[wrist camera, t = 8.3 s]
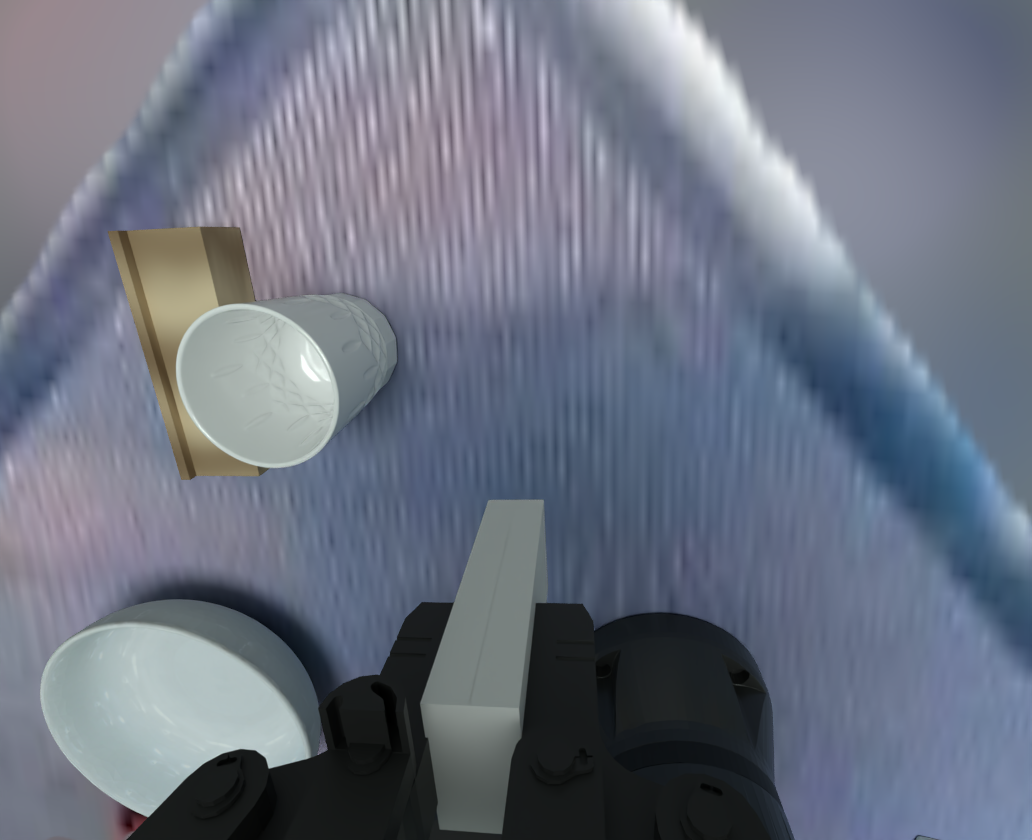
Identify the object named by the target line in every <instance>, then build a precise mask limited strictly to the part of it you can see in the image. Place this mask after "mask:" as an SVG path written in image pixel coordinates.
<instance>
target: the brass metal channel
mask: <svg viewBox="0 0 1032 840" xmlns="http://www.w3.org/2000/svg"><path fill="white" fill-rule="evenodd" d="M108 234H109V238H110V241H111V244H112V248H113V251H114V254H115V258H116V261H117V264H118V268H119V271H120V275H121V278H122V281H123V285H124V288H125V291H126V295H127V298H128V301H129V305H130V308H131V312H132V315H133V318H134V322H135V325H136V328H137V332H138V335H139V338H140V342H141V345H142V349H143V352H144V355H145V359H146V362H147V365H148V369H149V372H150V375H151V379H152V382H153V385H154V389H155V392H156V396H157V399H158V402H159V406H160V409H161V412H162V416H163V419H164V422H165V426H166V429H167V433H168V436H169V439H170V443H171V446H172V449H173V453H174V456H175V459H176V463H177V466H178V470H179V473H180V476H181V480H191V479H192V478H194V477H195V476H260V475H262V474H263V473H264V472H265V471H267V470H268V469H269V468H266V467H259V466H255V465H251V464H248V463H245V462H242V461H240V460H238V459H236V458H234V457H232V456H230V455H228V454H227V453H225V452H223V451H222V450H221V449H219V448H218V447H216V446H215V445H214V444H213V443H212V442H211V441H209V440H208V439H207V438H206V437H205V436H204V435H203V433H202V432H201V431H200V430H199V429H198V427H197V426H196V425H195V423H194V422H193V421H192V419H191V417H190V416H189V414H188V412H187V410H186V408H185V406H184V404H183V402H182V399H181V396H180V393H179V389H178V385H177V379H176V358H177V352H178V348H179V345H180V342H181V340H182V338H183V336H184V334H185V332H186V331H187V329H188V328H189V327H190V326H191V324H192V323H193V322H194V321H195V320H196V319H197V318H199V317H200V316H201V315H203V314H204V313H206V312H208V311H210V310H212V309H214V308H217V307H220V306H223V305H228V304H236V303H245V302H253V301H255V298H254V293H253V288H252V284H251V279H250V274H249V270H248V265H247V260H246V256H245V251H244V246H243V242H242V237H241V232H240V228H236V227H187V228H169V229H151V230H133V231H108Z"/></svg>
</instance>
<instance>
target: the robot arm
mask: <svg viewBox="0 0 1032 840" xmlns="http://www.w3.org/2000/svg"><path fill="white" fill-rule="evenodd" d="M547 590H548V579H547V558H546V538H545V517H544V500H488V503H487V506H486V509H485V512H484V515H483V518H482V521H481V524H480V527H479V530H478V533H477V536H476V539H475V542H474V545H473V548H472V551H471V554H470V557H469V560H468V563H467V566H466V569H465V572H464V575H463V578H462V581H461V584H460V587H459V590H458V593H457V596H456V599H455V602H454V603H432V602H422V603H421V604H420V605H419V606H418V607H417V608H416V609H415V610H414V611H412V612H411V613H410V614H409V615H408V616H407V617H406V618H405V621H404V623H403V625H402V627H401V629H400V632H399V634H398V636H397V641H395V643H394V645H393V647H392V649H391V652H390V657H388V658H387V660H386V663H385V665H384V667H383V669H382V671H381V674H380V675H370V676H362V677H358V678H356V679H353V680H351V681H348V682H346V683H343V684H342V685H341V686H339V687H338V688H337V689H335V690H334V691H333V692H331V693H330V694H329V695H328V696H327V697H326V699H325V700H324V701H323V702H322V704H321V705H320V706H319V708H318V710H319V714H320V719H321V723H322V727H323V731H324V735H325V740H326V744H327V748H328V750H327V751H325V752H324V753H322V754H319V755H317V756H314V757H311V758H308V759H304V760H301V761H297V762H293V763H289V764H285V765H281V766H277V767H273V768H268V764H267V761H266V758H265V757H264V756H263V755H261V754H260V753H258V752H257V751H256V750H247V749H238V750H234V751H230V752H226V753H222V754H221V755H219V756H217V757H215V758H213V759H211V760H209V761H207V762H206V763H204V764H203V765H201V766H200V767H199V768H198V769H197V770H195V771H194V772H193V773H192V774H191V775H189V776H188V777H187V778H186V779H185V780H184V781H183V782H182V783H181V784H180V785H179V786H178V787H177V788H176V789H175V790H174V791H173V792H172V793H171V794H170V795H169V796H168V798H167V799H166V800H165V801H164V802H163V803H162V804H161V805H160V806H159V807H158V808H157V809H156V810H155V811H154V812H153V813H152V814H151V815H150V816H149V817H148V818H147V819H146V820H145V821H144V822H143V823H142V824H141V825H140V826H139V827H138V828H137V829H136V831H135V832H134V833H133V834H132V835H131V836H130V837H129V838H128V839H127V840H795V839H794V837H793V834H792V831H791V828H790V826H789V823H788V820H787V817H786V815H785V813H784V810H783V807H782V804H781V802H780V799H779V796H778V793H777V790H776V787H775V783H774V746H773V712H772V705H771V700H770V696H769V693H768V690H767V688H766V685H765V683H764V680H763V678H762V676H761V673H760V671H759V668H758V666H757V664H756V662H755V660H754V659H753V657H752V656H751V654H750V653H749V652H748V650H747V649H746V648H745V647H744V646H743V645H742V644H741V643H740V642H739V641H738V640H736V639H735V638H734V637H733V636H731V635H730V634H728V633H727V632H725V631H724V630H722V629H720V628H718V627H716V626H714V625H712V624H709V623H707V622H704V621H701V620H698V619H695V618H691V617H686V616H681V615H673V614H647V615H639V616H633V617H629V618H625V619H622V620H618V621H616V622H613V623H611V624H608V625H606V626H604V627H602V628H601V629H599V630H597V631H596V632H594V626H593V620H592V618H591V617H590V615H589V613H588V612H587V610H586V609H585V607H584V606H583V604H560V603H547Z"/></svg>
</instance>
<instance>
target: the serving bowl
mask: <svg viewBox="0 0 1032 840" xmlns="http://www.w3.org/2000/svg"><path fill="white" fill-rule="evenodd" d="M40 698H41V705H42V710H43V714H44V717H45V720H46V723H47V725H48V728H49V730H50V732H51V734H52V736H53V738H54V740H55V741H56V743H57V744H58V746H59V748H60V749H61V751H62V752H63V753H64V754H65V756H66V757H67V758H68V760H69V761H70V762H71V763H72V764H73V765H74V766H75V767H76V768H77V769H78V770H79V771H80V772H81V773H82V774H83V775H84V776H85V777H86V778H87V779H88V780H89V781H90V782H92V783H93V784H94V785H95V786H96V787H98V788H99V789H100V790H102V791H103V792H104V793H106V794H107V795H109V796H110V797H112V798H113V799H115V800H116V801H118V802H119V803H121V804H123V805H125V806H126V807H128V808H130V809H132V810H134V811H136V812H138V813H140V814H142V815H145V816H147V817H149V816H150V815H151V814H152V813H153V812H154V811H155V810H156V809H157V808H158V807H159V806H160V805H161V804H162V803H163V802H164V801H165V800H166V799H167V798H168V796H169V795H170V794H171V793H172V792H173V791H174V790H175V789H176V788H177V787H178V786H179V785H180V784H181V783H182V782H183V781H184V780H185V779H186V778H187V777H188V776H189V775H191V774H192V773H193V772H194V771H195V770H197V769H198V768H199V767H200V766H201V765H203V764H204V763H206V762H207V761H209V760H211V759H213V758H215V757H217V756H219V755H221V754H222V753H226V752H230V751H234V750H238V749H247V750H256V751H257V752H258V753H260V754H261V755H263V756H264V757H265V758H266V761H267V764H268V768H273V767H277V766H281V765H285V764H289V763H293V762H297V761H301V760H304V759H308V758H311V757H314V756H317V753H318V748H319V742H320V733H321V719H320V714H319V710H318V708H319V704H318V699H317V696H316V692H315V690H314V687H313V684H312V682H311V680H310V677H309V675H308V673H307V671H306V670H305V668H304V666H303V665H302V663H301V662H300V660H299V659H298V658H297V656H296V655H295V654H294V652H293V651H292V650H291V649H290V648H289V646H288V645H287V644H286V643H284V642H283V641H282V640H281V639H280V638H279V637H278V636H277V635H276V634H274V633H273V632H272V631H271V630H269V629H268V628H267V627H265V626H264V625H262V624H261V623H259V622H258V621H256V620H254V619H252V618H250V617H249V616H247V615H245V614H243V613H240V612H238V611H236V610H233V609H230V608H227V607H224V606H221V605H217V604H213V603H209V602H203V601H197V600H184V599H170V600H159V601H152V602H146V603H142V604H138V605H134V606H131V607H127V608H125V609H122V610H119V611H117V612H114V613H112V614H110V615H108V616H106V617H104V618H102V619H100V620H98V621H96V622H94V623H92V624H91V625H89V626H88V627H86V628H84V629H83V630H81V631H80V632H78V633H76V634H75V635H73V636H72V637H70V638H69V639H68V640H66V641H65V642H64V643H63V644H62V645H61V646H59V648H58V649H57V650H56V651H55V652H54V653H53V655H52V656H51V657H50V659H49V661H48V663H47V664H46V667H45V669H44V672H43V675H42V679H41V687H40Z"/></svg>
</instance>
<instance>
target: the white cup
mask: <svg viewBox="0 0 1032 840" xmlns="http://www.w3.org/2000/svg"><path fill="white" fill-rule="evenodd" d="M396 363H397V345H396V337H395V335H394V333H393V331H392V329H391V327H390V325H389V323H388V321H387V319H386V317H385V315H383V314H382V313H381V312H380V311H379V310H377V309H376V308H375V307H374V306H373V305H371V304H370V303H369V302H368V301H367V300H365V299H362V298H358V297H355V296H351V295H348V294H344V293H337V294H330V295H303V296H291V297H284V298H276V299H268V300H261V301H253V302H245V303H236V304H228V305H223V306H220V307H217V308H214V309H212V310H210V311H208V312H206V313H204V314H203V315H201V316H200V317H199V318H197V319H196V320H195V321H194V322H193V323H192V324H191V326H190V327H189V328H188V329H187V331H186V332H185V334H184V336H183V338H182V340H181V342H180V345H179V348H178V352H177V358H176V379H177V385H178V389H179V393H180V396H181V399H182V402H183V404H184V406H185V408H186V410H187V412H188V414H189V416H190V417H191V419H192V421H193V422H194V423H195V425H196V426H197V427H198V429H199V430H200V431H201V432H202V433H203V435H204V436H205V437H206V438H207V439H208V440H209V441H211V442H212V443H213V444H214V445H215V446H216V447H218V448H219V449H221V450H222V451H223V452H225V453H227V454H228V455H230V456H232V457H234V458H236V459H238V460H240V461H242V462H245V463H248V464H251V465H255V466H259V467H266V468H284V467H290V466H294V465H297V464H300V463H303V462H305V461H307V460H309V459H310V458H312V457H313V456H315V455H316V454H317V453H318V452H319V451H321V450H322V449H323V448H324V447H325V446H326V445H327V444H328V443H329V442H330V441H331V440H332V439H333V438H334V437H335V436H336V435H337V434H338V433H339V432H340V431H341V430H342V429H343V428H344V427H345V426H346V425H347V424H348V423H349V422H351V421H352V420H353V419H354V418H355V417H356V416H357V415H358V414H359V413H360V412H361V411H362V409H363V408H364V407H365V406H366V405H367V404H368V403H369V402H370V401H371V400H372V399H373V397H374V396H375V395H376V393H377V392H378V391H379V390H380V389H381V388H382V387H383V386H384V385H385V384H386V383H388V381H389V379H390V377H391V375H392V372H393V370H394V368H395V366H396Z"/></svg>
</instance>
